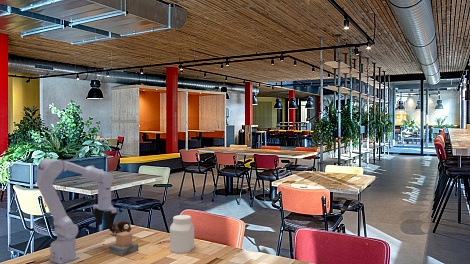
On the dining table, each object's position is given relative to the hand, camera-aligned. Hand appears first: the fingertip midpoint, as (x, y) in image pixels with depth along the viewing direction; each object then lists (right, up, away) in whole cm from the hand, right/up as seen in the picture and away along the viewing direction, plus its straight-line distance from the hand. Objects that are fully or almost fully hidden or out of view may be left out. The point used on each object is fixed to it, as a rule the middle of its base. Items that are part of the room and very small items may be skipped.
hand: (104, 226), depth 171 cm
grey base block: (+10, -11, -4) cm, 15 cm away
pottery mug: (0, -10, +21) cm, 24 cm away
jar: (+36, -11, -1) cm, 38 cm away
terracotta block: (+10, -7, -4) cm, 13 cm away
